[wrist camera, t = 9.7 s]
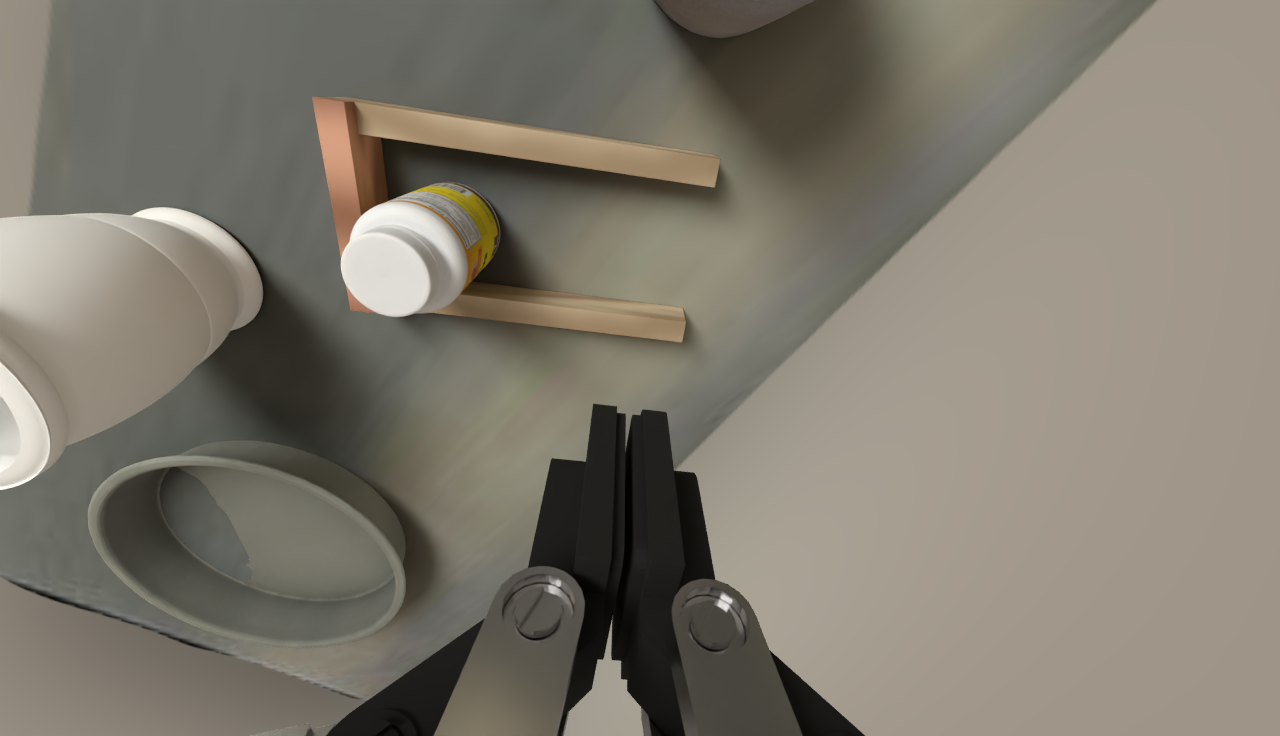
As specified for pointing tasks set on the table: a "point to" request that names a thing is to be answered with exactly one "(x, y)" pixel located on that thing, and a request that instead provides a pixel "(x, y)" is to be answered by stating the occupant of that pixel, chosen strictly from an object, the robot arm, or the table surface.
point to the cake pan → (260, 546)
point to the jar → (107, 321)
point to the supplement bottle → (420, 249)
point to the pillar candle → (727, 14)
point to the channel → (361, 172)
